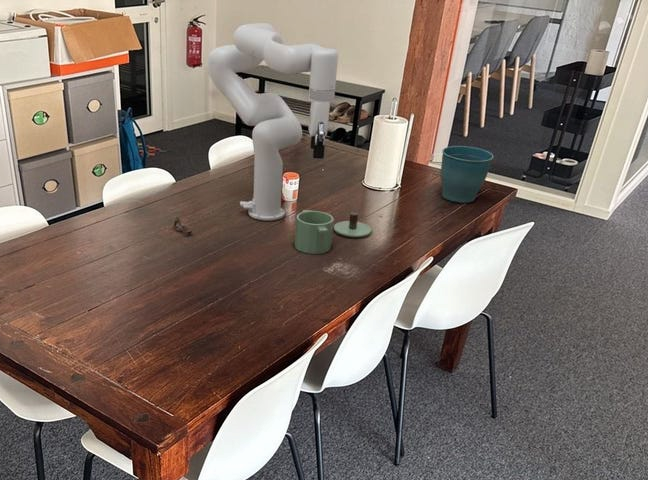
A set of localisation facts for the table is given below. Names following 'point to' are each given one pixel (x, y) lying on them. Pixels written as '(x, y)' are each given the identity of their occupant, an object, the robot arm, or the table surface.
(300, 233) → the crock
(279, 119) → the robot arm
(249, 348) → the table surface
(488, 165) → the flower pot
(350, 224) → the lid
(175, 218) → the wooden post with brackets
